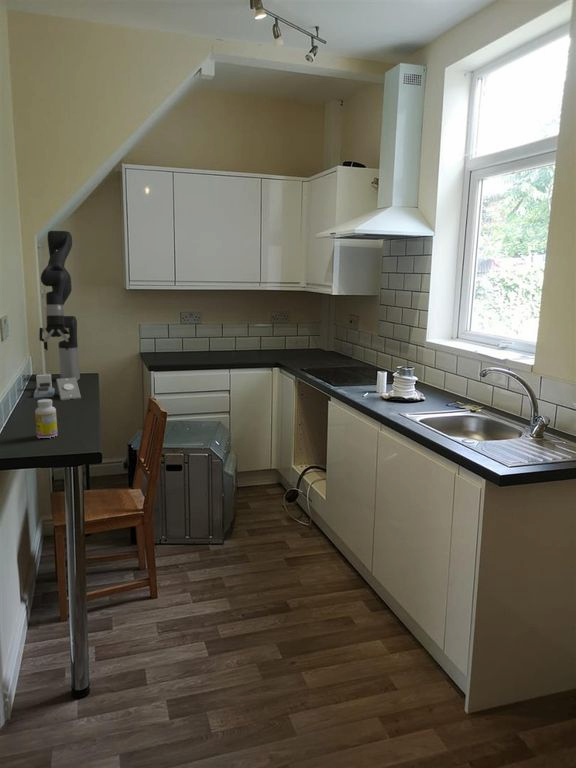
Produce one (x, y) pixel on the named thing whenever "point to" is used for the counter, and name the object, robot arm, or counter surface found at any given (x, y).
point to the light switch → (68, 388)
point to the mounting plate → (50, 394)
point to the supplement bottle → (46, 419)
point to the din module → (43, 379)
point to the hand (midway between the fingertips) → (56, 350)
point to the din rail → (44, 388)
